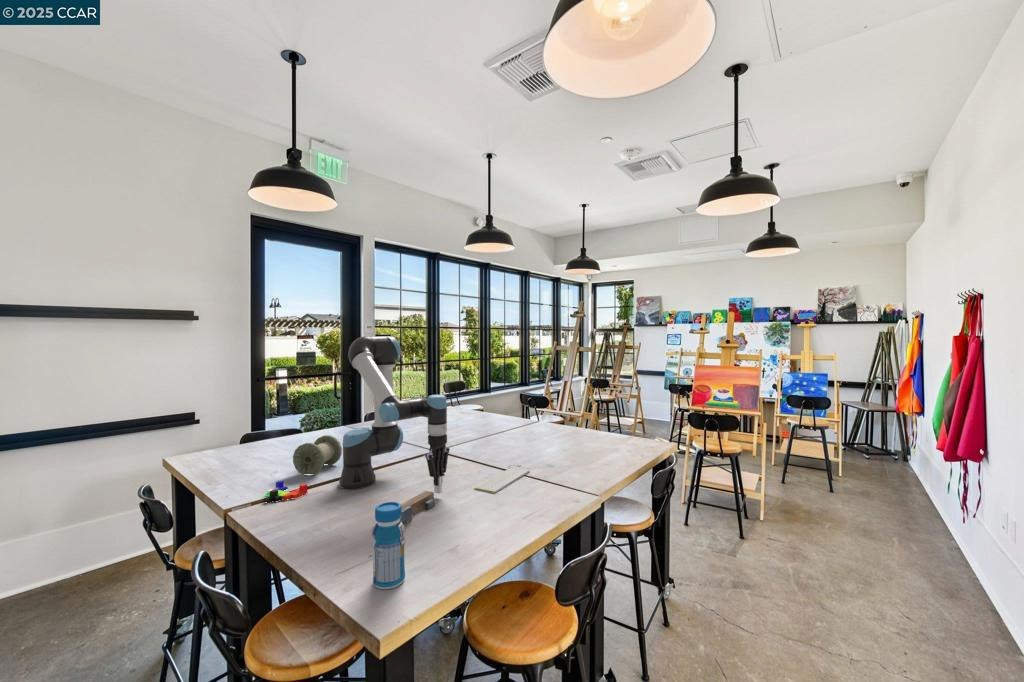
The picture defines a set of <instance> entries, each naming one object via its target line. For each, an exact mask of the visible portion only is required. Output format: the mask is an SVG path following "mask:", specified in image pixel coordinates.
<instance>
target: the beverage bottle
mask: <svg viewBox="0 0 1024 682" xmlns="http://www.w3.org/2000/svg"><path fill="white" fill-rule="evenodd" d="M401 504H402V503H400V502H398V501H386V502H383V503H379V504H377V505H376V506H375V509H374V519H375V522H376V524H375V525H374V527H373V530H372V534H371V535H372V537H373V539H372V542H371V548H372V562H373V563H372V566H373V569H372V571H373V572H372V573H373V576H372V583H373V586H374V587H376V588H377V589H379V590H391V589H394V588H396V587H398V586H400V585H402V583H404V581H405V579H406V569H405V544H406V537H405V535H404V533H405V525H404V524H403V523H402V522H401V520H400V518H401V515H402V507H401Z"/></svg>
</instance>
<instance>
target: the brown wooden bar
mask: <svg viewBox="0 0 1024 682" xmlns="http://www.w3.org/2000/svg"><path fill="white" fill-rule="evenodd" d="M430 499H435V493H434V492H433V491H428V490H424V491H422V492H420V493H419V494H417V495H414V496H413V497H411V498H409V499H407V500H406V501H404V502H402V503H400V504H401V507H402V509H404V508H406V507H408V506H411V507H412V515H414V514H416V513H417V512H419V511H421V510H422V509H425V502H427V501H429V500H430Z"/></svg>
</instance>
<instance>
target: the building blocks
mask: <svg viewBox="0 0 1024 682" xmlns="http://www.w3.org/2000/svg"><path fill="white" fill-rule="evenodd" d="M288 487H289V486H285V481H284V480H277V481H275V486H274V487H273V488H271V489H267V490H266V493H265V497H264V503H265V502H267V503H269V504H271V503H270V502H272V501H279V500H282V499H284V500H287V499H290V498H297V499H299V498H298V497H300V496H302V495H304V494H306V493H307V494H308V484H306V483H302V484H300V485H298V487H299V488H297V489H295V490H292V491H284V490H286V489H288ZM307 494H306V495H307ZM304 496H305V495H304ZM302 497H303V496H302ZM300 498H301V497H300ZM284 500H282V501H284ZM290 500H291V499H290ZM287 501H288V500H287ZM279 502H280V501H279ZM267 503H266V504H267ZM272 503H273V502H272Z"/></svg>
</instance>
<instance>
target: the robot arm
mask: <svg viewBox="0 0 1024 682" xmlns="http://www.w3.org/2000/svg"><path fill="white" fill-rule="evenodd" d="M401 353H402V349H401V346H400V343H399V341H398V340H397V339H396V338H395V337H393V336H389V335H387V336H386V335H384V336H381V335H380V336H377V335H375V336H360V337H358V338H356V339H355V340H353V342H351V344H350V346H349V349H348V353H347V354H348V355H347V356H348V360H349V363H350V364H351V366H352V367H353V369H355V370H357V371H358V373H359V374H360V376H361V377H362V380H363V381H364V382H365V384H366V385H367V387H368V389H369V390H370V391H371V393H372V395H373V399H374V401H373V402H374V422H373V423H372V424H371V428H369V427H358V428H354V429H350V430H348V431H347V432H345V433H344V434H343V437H342V445H341V446H342V458H343V459H342V461H343V462H342V464H343V465H342V470H341V474H340V478H339V479H338V480H339V481H338V484H339V485H338V486H339V487H340V488H342V489H345V490H346V489H347V490H356V489H363V488H367V487H369V486H372V485H374V484H375V483H376V481H377V480H376V479H377V478H376V477H377V476H376V474H375V471H374V468H373V465H372V457H375V456H379V455H383V454H387V453H388V454H390V453H392V452H395V451H398V450H399V449H400V448H401V446H402V444H403V441H404V432H403V429H402V427H401V426H399V425H398V423H399V421H403V420H409V419H410V420H411V419H415V418H419V417H420V418H427V434H428V435H427V443H428V445H429V449H428V450H429V451H428V454H425V456H424V457H425V459H426V462H427V467H428V472H429V477H432V478H433V486H434V487H433V489H434V494H435V493H436V494H439V495H440V494H442V493H443V477H445V475H446V474H445V473H446V472H447V467H448V466H447V465H448V459H449V453H450V449H451V448H449V447H447V446H446V445H447V443H448V434H447V433H448V430H447V429H448V426H447V424H448V421H447V420H448V405H447V404H448V403H447V396H446V395H444V394H431V395H429V396H428V397H427V398H425V397H421V396H418V397H417V396H416V397H413V398H411V399H406V400H405V399H404V400H401V399H400V398H399V396H398V395H397V393H396V392H395V391H394V375H393V372H394V371H393V370H394V367H396V364H397V361H398V360H399V359H400V357H401Z"/></svg>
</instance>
